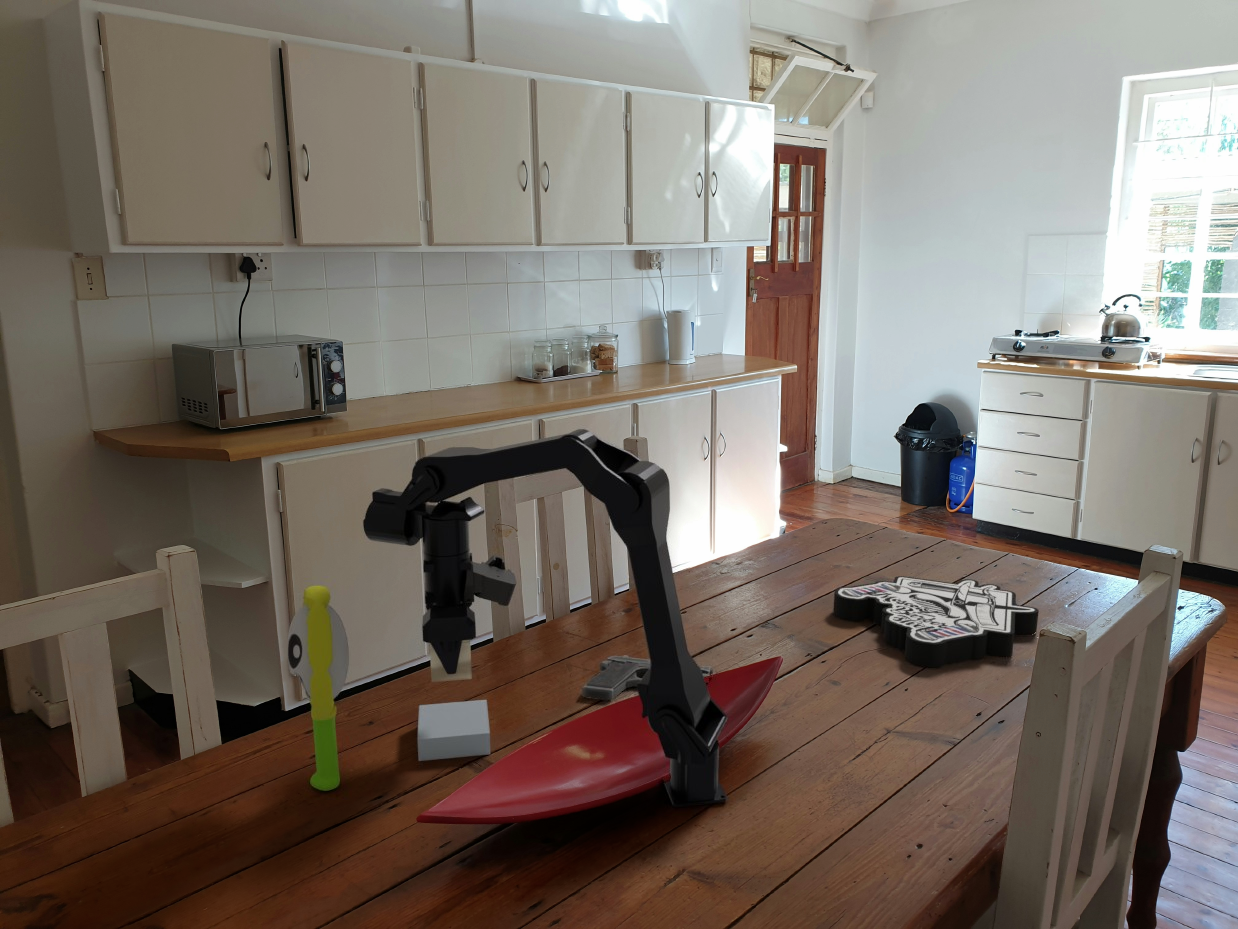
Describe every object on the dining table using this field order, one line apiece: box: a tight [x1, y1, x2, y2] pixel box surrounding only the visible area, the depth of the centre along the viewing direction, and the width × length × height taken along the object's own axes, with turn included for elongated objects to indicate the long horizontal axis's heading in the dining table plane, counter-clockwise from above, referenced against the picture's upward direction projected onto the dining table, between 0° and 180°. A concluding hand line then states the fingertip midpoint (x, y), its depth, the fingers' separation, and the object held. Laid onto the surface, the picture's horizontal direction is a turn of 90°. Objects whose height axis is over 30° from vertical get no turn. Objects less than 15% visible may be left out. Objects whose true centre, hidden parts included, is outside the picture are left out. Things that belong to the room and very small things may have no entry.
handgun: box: [581, 654, 714, 702], centre depth 136 cm, size 2×17×12 cm
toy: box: [286, 585, 350, 792], centre depth 108 cm, size 15×7×25 cm, turn 21°
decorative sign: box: [832, 575, 1040, 670], centre depth 158 cm, size 28×4×30 cm
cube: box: [429, 640, 473, 683], centre depth 119 cm, size 5×5×5 cm
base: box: [417, 699, 491, 762], centre depth 121 cm, size 9×9×3 cm
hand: (451, 664), depth 119 cm, fingers closed on cube, 5 cm apart
